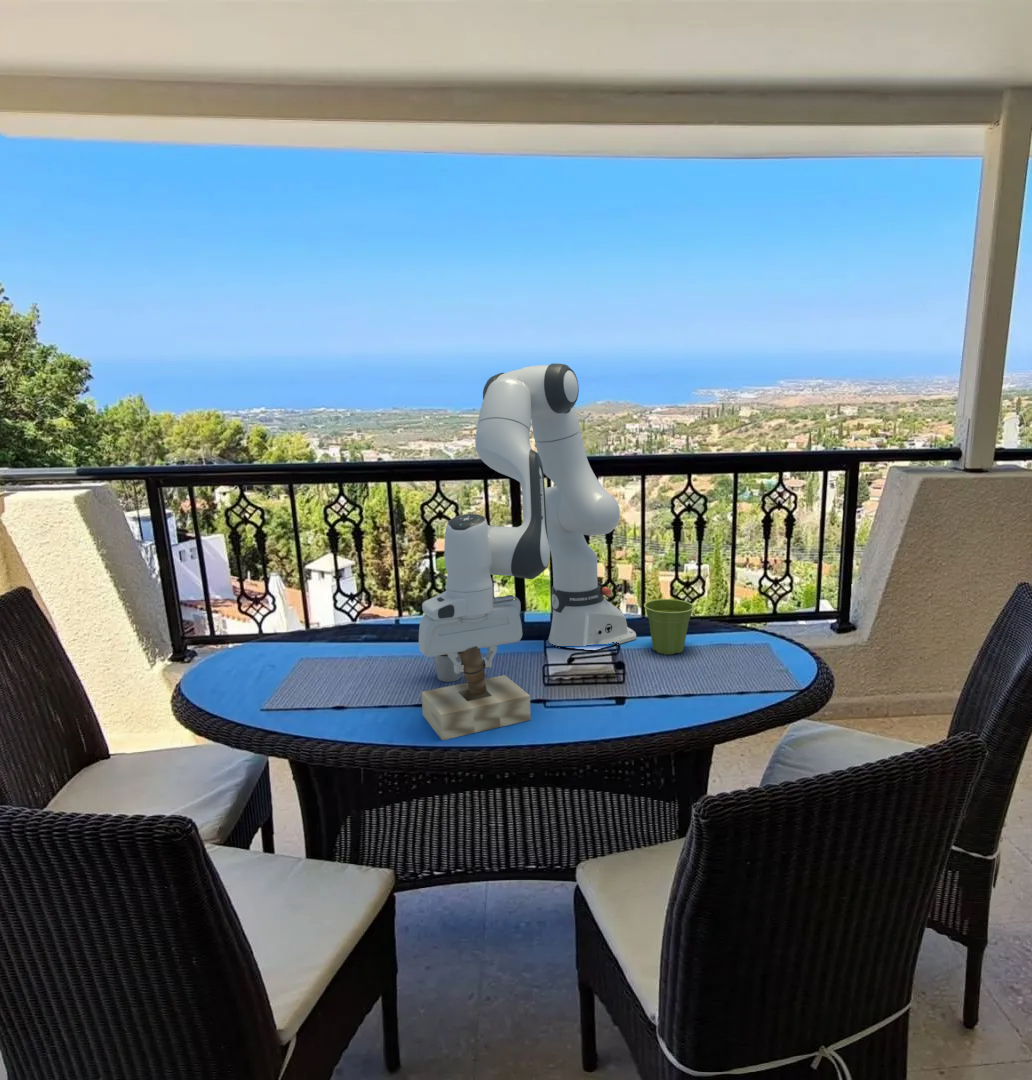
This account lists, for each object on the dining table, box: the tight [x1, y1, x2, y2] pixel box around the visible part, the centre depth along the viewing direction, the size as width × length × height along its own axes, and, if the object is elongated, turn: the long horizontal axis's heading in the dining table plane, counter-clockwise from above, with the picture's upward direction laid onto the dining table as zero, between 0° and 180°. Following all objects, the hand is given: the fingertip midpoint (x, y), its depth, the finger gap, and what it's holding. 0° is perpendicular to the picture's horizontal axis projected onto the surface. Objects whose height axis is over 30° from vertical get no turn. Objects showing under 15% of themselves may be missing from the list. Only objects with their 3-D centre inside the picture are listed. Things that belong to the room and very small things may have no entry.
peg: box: [459, 646, 487, 695], centre depth 141 cm, size 4×4×10 cm
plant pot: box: [643, 598, 695, 656], centre depth 175 cm, size 12×12×11 cm
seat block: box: [421, 674, 531, 741], centre depth 142 cm, size 18×12×5 cm, turn 114°
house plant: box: [415, 617, 463, 683], centre depth 161 cm, size 14×14×16 cm
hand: (473, 670), depth 141 cm, fingers closed on peg, 4 cm apart
